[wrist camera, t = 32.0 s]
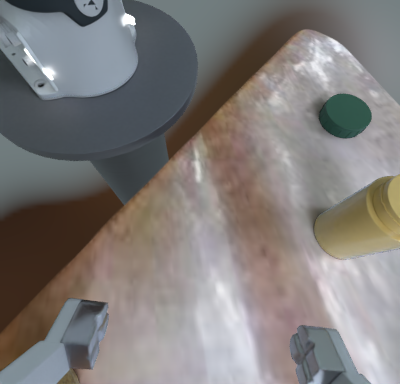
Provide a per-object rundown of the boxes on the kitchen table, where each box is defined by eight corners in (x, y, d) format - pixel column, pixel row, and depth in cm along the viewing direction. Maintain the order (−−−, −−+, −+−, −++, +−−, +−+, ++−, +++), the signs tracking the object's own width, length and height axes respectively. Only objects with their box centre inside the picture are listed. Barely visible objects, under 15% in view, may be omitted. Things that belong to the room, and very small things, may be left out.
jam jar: (304, 237, 27) (368, 207, 17) (327, 200, 29) (396, 153, 19) (352, 270, 26) (449, 258, 16) (372, 229, 28) (471, 195, 18)
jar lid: (371, 126, 33) (381, 117, 32) (340, 145, 32) (349, 137, 30) (340, 97, 35) (348, 87, 34) (309, 114, 34) (316, 104, 32)
